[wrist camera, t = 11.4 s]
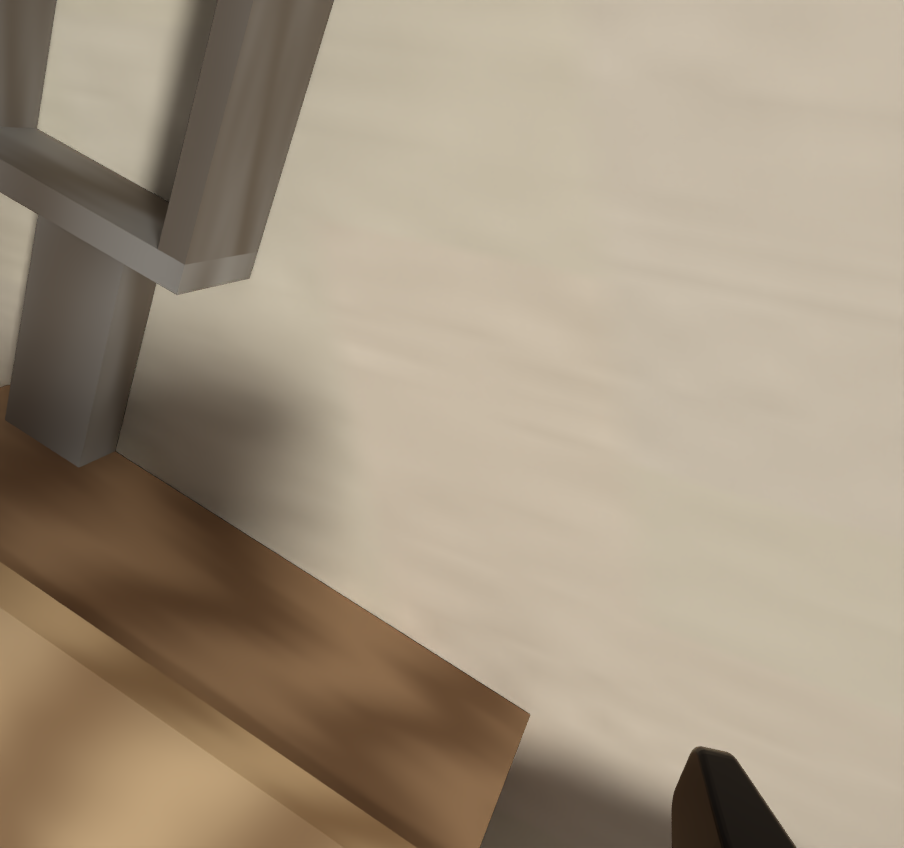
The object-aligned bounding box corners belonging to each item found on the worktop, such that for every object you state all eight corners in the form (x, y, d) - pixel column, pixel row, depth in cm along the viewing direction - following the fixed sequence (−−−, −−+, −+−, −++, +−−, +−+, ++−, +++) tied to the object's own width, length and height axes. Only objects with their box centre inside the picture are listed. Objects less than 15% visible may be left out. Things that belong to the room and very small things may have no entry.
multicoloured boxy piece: (898, 191, 15) (1011, 208, 9) (431, 878, 25) (332, 1108, 19) (59, -199, 18) (-288, -386, 12) (-46, 548, 29) (-261, 653, 23)
